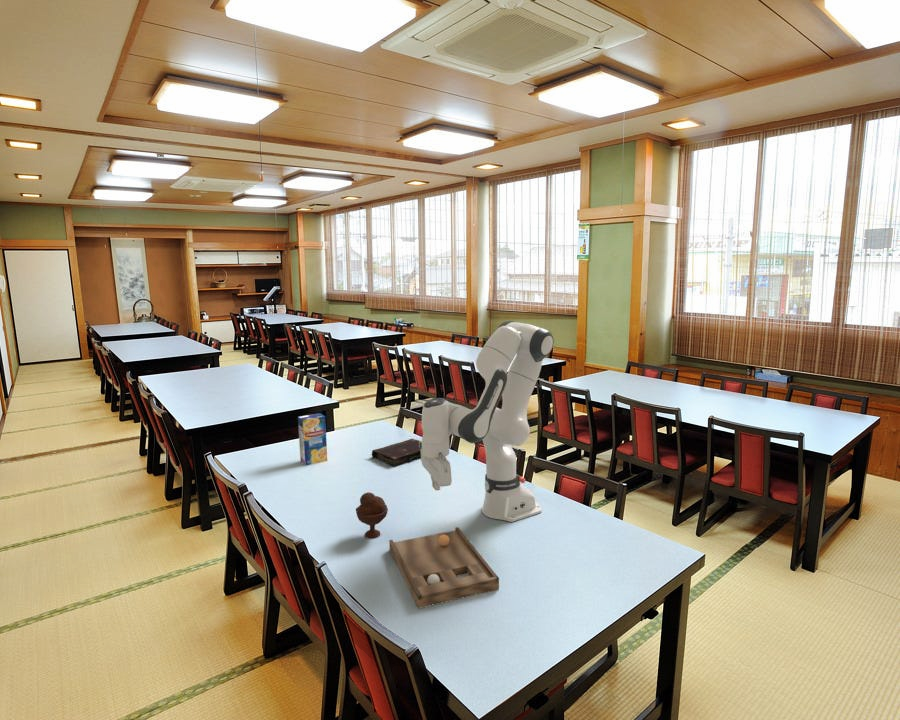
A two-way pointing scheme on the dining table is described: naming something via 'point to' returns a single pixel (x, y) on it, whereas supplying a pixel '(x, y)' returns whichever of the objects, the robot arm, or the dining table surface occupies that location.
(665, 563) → the dining table surface
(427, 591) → the wooden tray
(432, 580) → the ball grey
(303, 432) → the beverage box
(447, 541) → the ball orange
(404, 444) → the diary
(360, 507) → the ice cream bowl
